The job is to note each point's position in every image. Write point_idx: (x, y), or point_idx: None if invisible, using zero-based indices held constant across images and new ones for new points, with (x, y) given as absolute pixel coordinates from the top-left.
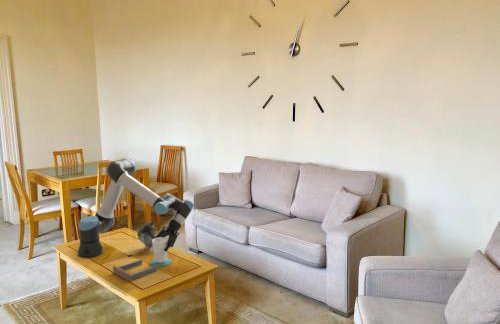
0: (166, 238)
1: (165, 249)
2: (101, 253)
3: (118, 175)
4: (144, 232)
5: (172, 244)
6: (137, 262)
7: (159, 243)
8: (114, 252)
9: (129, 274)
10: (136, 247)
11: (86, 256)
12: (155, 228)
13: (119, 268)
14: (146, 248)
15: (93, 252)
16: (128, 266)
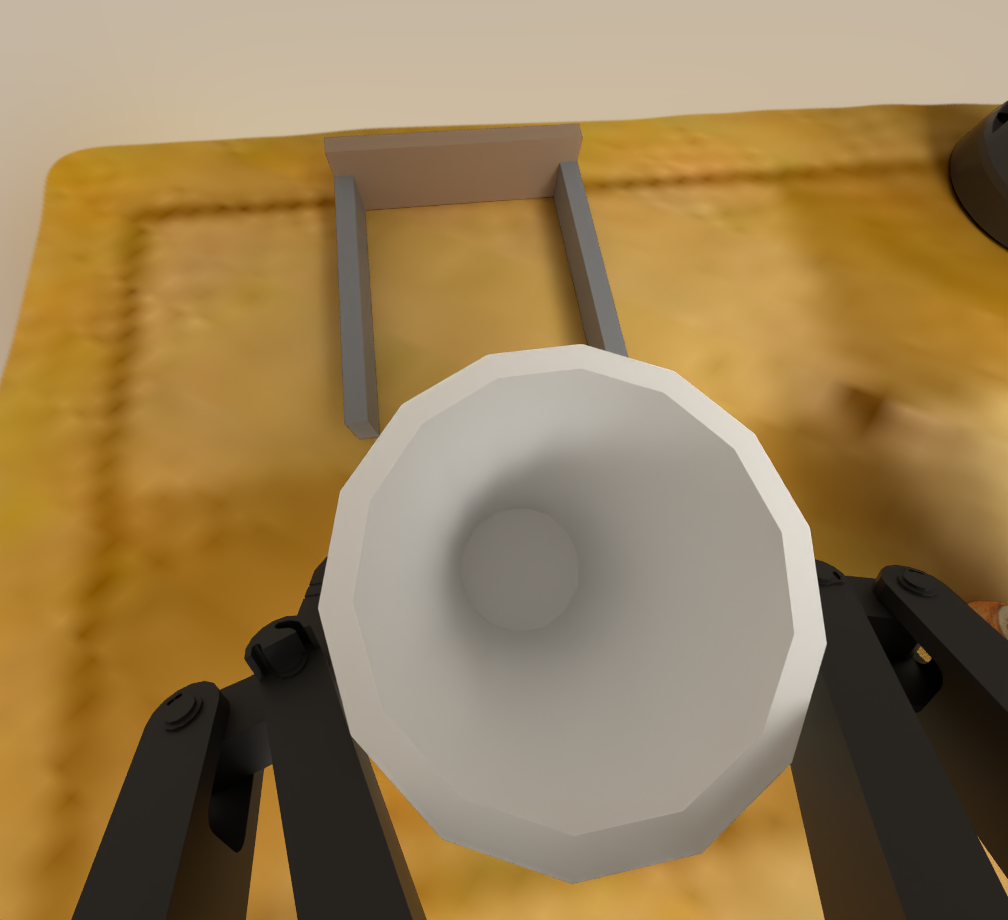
0: (587, 842)
1: (323, 573)
2: (1005, 242)
3: None
4: None
5: (223, 809)
6: (600, 347)
7: (381, 448)
8: (1001, 332)
9: (327, 156)
10: None
11: (965, 139)
12: None
13: (492, 137)
14: (984, 609)
15: (1001, 151)
16: (577, 270)
